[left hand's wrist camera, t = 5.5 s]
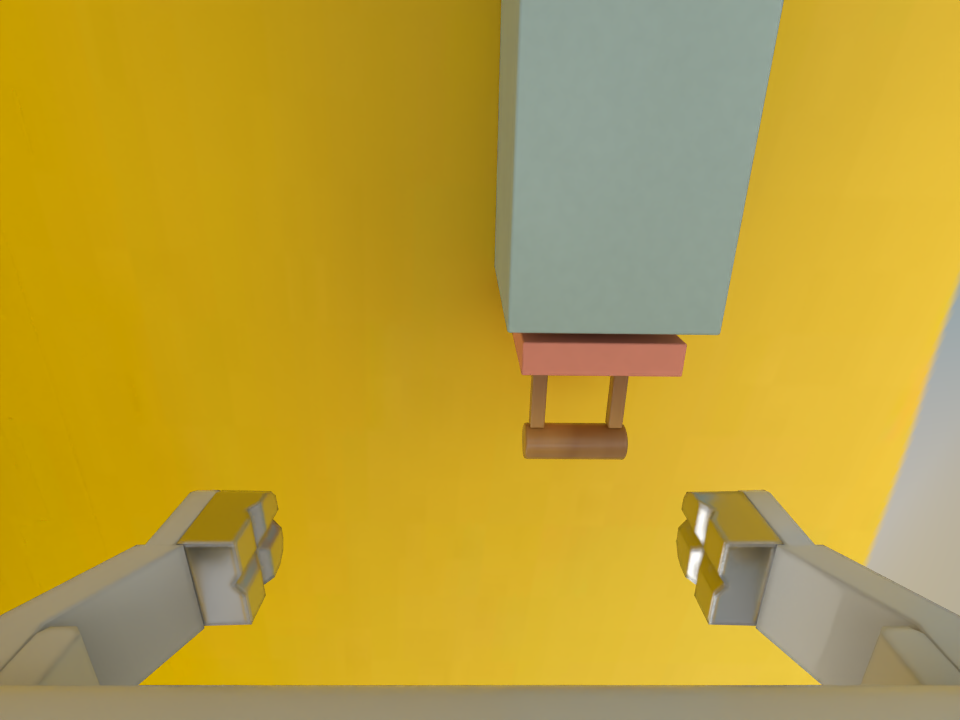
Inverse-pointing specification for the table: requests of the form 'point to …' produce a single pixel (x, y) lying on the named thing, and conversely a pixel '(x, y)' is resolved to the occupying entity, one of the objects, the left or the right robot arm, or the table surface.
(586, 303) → the cabinet
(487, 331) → the table surface
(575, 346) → the drawer
